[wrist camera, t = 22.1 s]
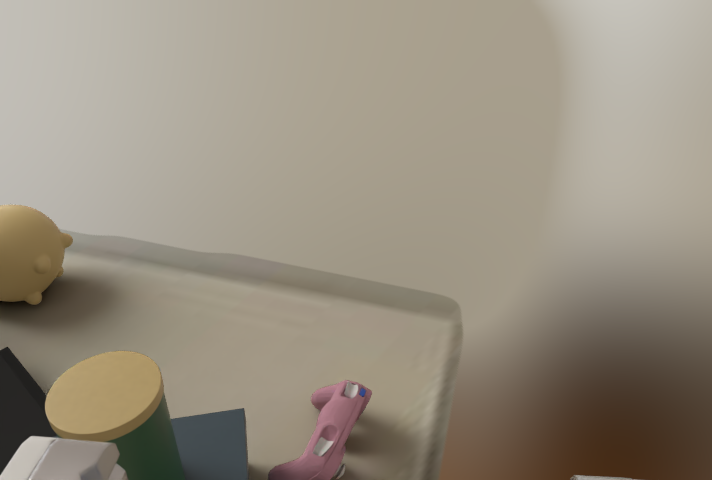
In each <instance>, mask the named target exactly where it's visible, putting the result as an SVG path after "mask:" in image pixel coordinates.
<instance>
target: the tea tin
mask: <svg viewBox="0 0 712 480" xmlns="http://www.w3.org/2000/svg"><path fill="white" fill-rule="evenodd" d="M45 412H46V415H47V418H48V420H49V423H50V425H51V427H52V429H53V430H54V432H55V433H56V434H57V436H58V438H61V439H73V440H85V441H96V442H108V443H115V444H116V446H117V449H118V451H119V453H120V456H119V458H118V460H117V462H116V463H117V464H118V465H119V466H121V467H122V468H123V469H124V470H125V471H126V474H127V477H128V480H185V475H184V471H183V467H182V463H181V459H180V455H179V451H178V447H177V443H176V439H175V435H174V431H173V427H172V423H171V419H170V415H169V411H168V407H167V403H166V399H165V395H164V385H163V380H162V376H161V372H160V369H159V367H158V366H157V364H156V363H155V362H154V361H153V360H152V359H150V358H149V357H147V356H145V355H143V354H140V353H136V352H131V351H113V352H107V353H103V354H99V355H96V356H93V357H90V358H88V359H85V360H83V361H81V362H79V363H77V364H76V365H74V366H73V367H71V368H70V369H68V370H67V371H66V372H65V373H63V374H62V375H61V376H60V377H59V378H58V379H57V380H56V381H55V383H54V384H53V385H52V387H51V389H50V390H49V392H48V395H47V397H46V402H45Z"/></svg>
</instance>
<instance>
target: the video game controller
mask: <svg viewBox="0 0 712 480" xmlns="http://www.w3.org/2000/svg"><path fill="white" fill-rule="evenodd" d="M371 395H372V391H371V390H369V389H368V388H366V387H364V386H363V385H361V384H359V383H357V382H352V381H348V380H345V381H342V382H340V383H338V384H335V385H332V386H327V387H323V388H320V389H318V390H316V391H315V392H314V393H313V394H312V396H311V402H312V404H313V405H314V406H315V407H316V408H317V409H318V410H320V411H321V412H320V414H319V416H318V420H317V425H316V429H315V431H314V433H313V435H312V437H311V439H310V441H309V443H308V445H307V448H306V450H305V452H304V454H303V455H302V456H301V457H299V458H298V459H296V460H293V461H291V462H288V463H284V464H281V465H278V466H275V467H274V468H273V469H272V470H270V472H269V475H268V479H269V480H331V478H332V477H333V476H335V475H336V474H337V475H336V479H338V478H340V477H341V476H342V475H343V474H344V472H345V464H343V465H342V466H341V461H342V459H343V456H344V453H345V450H346V446H344V444H345V442H346V440H347V438H348V436H349V434H350V432H351V430H352V428H353V426H354V424H355V422H356V421H357V420H358V419H359V417H360V415H361V414H362V413H363V411H364V409H365V408H366V405H367V404H368V402H369V400H370V397H371Z"/></svg>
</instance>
